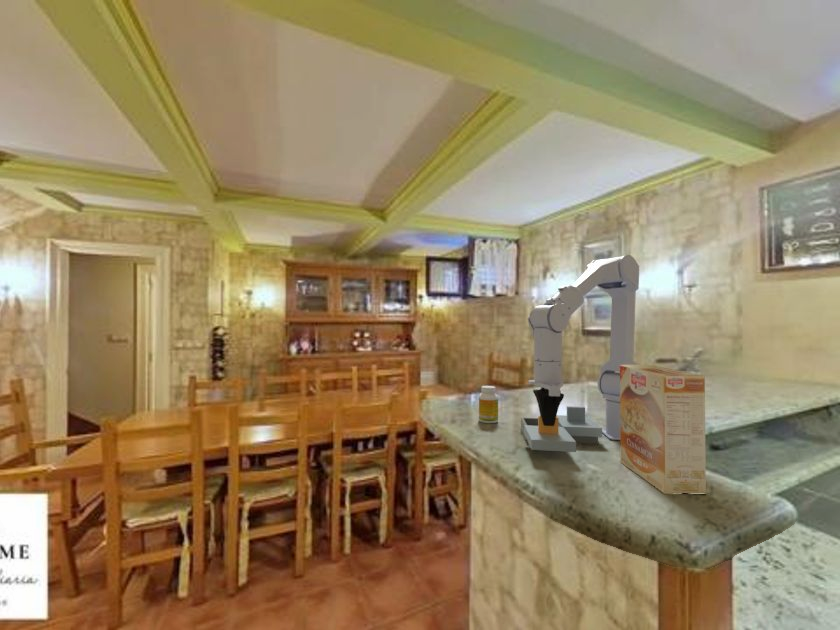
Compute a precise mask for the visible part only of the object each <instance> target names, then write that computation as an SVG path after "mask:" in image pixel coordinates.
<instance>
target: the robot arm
mask: <svg viewBox="0 0 840 630" xmlns="http://www.w3.org/2000/svg"><path fill="white" fill-rule="evenodd" d="M585 269H586V270H585V271H584V272H583V273H582V274H581V275H580V277H578V278H577V280H576V281H574V283H573V284H572V285H569V284H567V285H566V284H565V285H561V286H559V287H558V288H557V290H558V291H557V292H556V293H555V294H553V295H552V296H551V297H549V298H547V299H546V300H545V303H544V304H541V305H536V306H534V308H533V309H532V310H531V311H530V313H529V317H527V323H528V326H529V328H530V329H531V337H532V339H533V364H534V365H533V379H529V380H528V384H529V385H534V386H536V387H540V389H532V392H533V394H534V396H535V399H536V402H537V406H538V410H539V411H538V412H539V416H542V421H543V425H544V426H554V424H555V420H556V415H558V411H559V408H560V405H561V403H562V401H563V399H564V397H565V394H564V393H561V388H562V387H563V386H564V381H563V331H564V330H566V329H567V328H568V326H569V321H570V319H571V318H572V317H571V316H573V314H574V313H575V312H576V311H577V310H578V309H579V308H580V307H582V306H583V304H584V302H585V298H584V297H585V296H586V295H587V294H588V293H590V292H591V291H592V290H594V289H595V288H596V287H597V288H599V289H600V290H601V291H602V292H604V293H606V294H608V295H609V296H610V297H611V314H610V341H609V344H610V345H609V346H610V347H609V359H608V360H607V361H606V362H605V363H603V364H602V365H601V366H600V373H599V375H598V378H597V388H598V392H599V393H600V394H601V395H602V399H605V428H602V435H605V436H606V438H608V439H609V440H610V441H611V440H613V441H620V365H639V364H638V363H637V362H635V361H634V358H635V327H636V325H635V324H636V323H635V321H636V295H637V293H636V291H639V288H640V287H639V285H640V284H639V281H640V265H639V264H638V262H637V260H636V259H635V258H634V256H633V255H630V254H625V255H620V256H616V257H609V258H603V259H593V260H592V261H591V262H590V263H588V264H587V265H586V267H585Z"/></svg>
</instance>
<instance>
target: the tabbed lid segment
mask: <svg viewBox="0 0 840 630" xmlns="http://www.w3.org/2000/svg"><path fill="white" fill-rule="evenodd" d="M537 418H538V426H532V425H524V435H525V437H526V439H527V441H528V442H527V441H526V442H527V444H528V445H529V447H530V449H531V451H551V452H568V453H570V452H571V453H577V444H576V441H575V440H574V439H573V438H572V437H571V436H570V434H569V433H568V432H567V431H566V430H565V429H564V428H563V427H559V418H558V417H556V420H555V424H554V426H544V425H543V421H542V416H540V415H538V416H537Z"/></svg>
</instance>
